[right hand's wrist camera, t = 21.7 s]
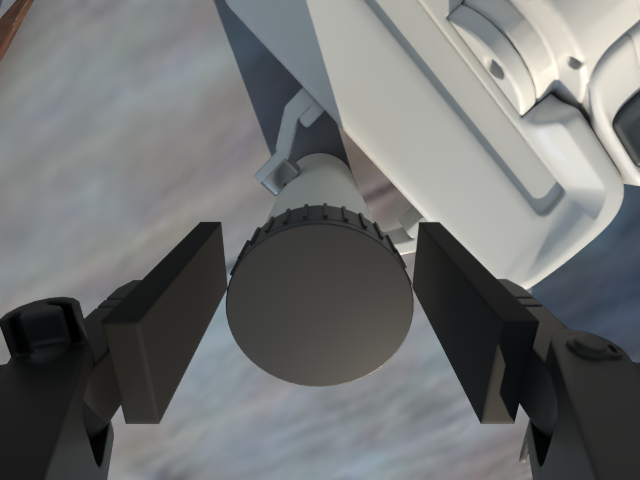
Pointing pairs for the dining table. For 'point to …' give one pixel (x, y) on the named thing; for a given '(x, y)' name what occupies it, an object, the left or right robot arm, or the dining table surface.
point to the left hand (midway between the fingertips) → (308, 225)
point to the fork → (12, 23)
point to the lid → (319, 297)
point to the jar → (321, 187)
